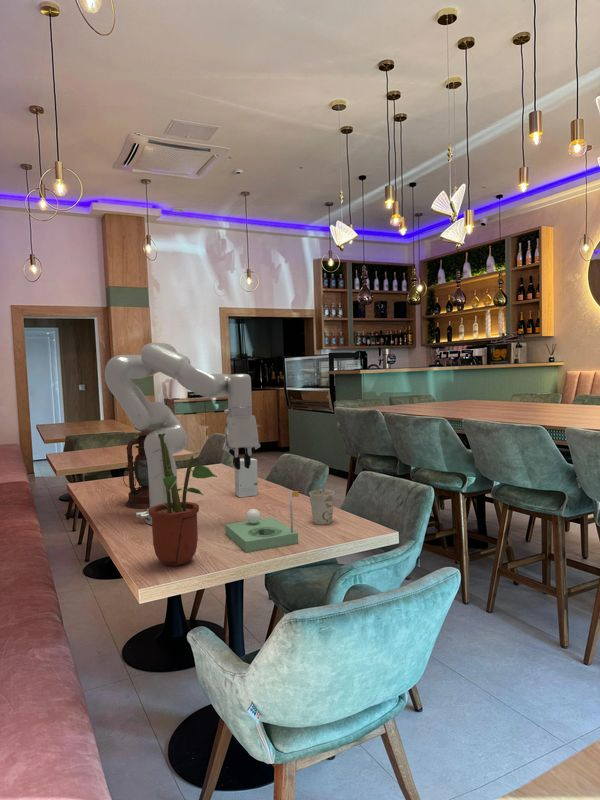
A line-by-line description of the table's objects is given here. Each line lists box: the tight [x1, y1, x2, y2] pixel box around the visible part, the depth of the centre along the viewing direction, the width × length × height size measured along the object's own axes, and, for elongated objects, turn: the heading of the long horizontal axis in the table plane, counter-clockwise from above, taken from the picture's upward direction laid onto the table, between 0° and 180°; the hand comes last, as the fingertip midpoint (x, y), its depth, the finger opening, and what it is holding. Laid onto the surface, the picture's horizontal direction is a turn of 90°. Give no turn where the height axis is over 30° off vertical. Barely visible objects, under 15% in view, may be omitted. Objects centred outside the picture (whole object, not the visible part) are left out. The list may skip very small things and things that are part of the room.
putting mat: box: [224, 490, 300, 553], centre depth 167 cm, size 17×20×15 cm
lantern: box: [122, 429, 155, 510], centre depth 215 cm, size 19×19×30 cm
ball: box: [245, 508, 262, 524], centre depth 172 cm, size 5×5×5 cm
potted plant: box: [149, 433, 218, 567], centre depth 150 cm, size 17×16×35 cm
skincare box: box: [234, 457, 259, 498], centre depth 224 cm, size 8×6×15 cm
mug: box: [308, 489, 336, 526], centre depth 184 cm, size 8×13×10 cm, turn 27°
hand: (242, 467), depth 180 cm, fingers open, 2 cm apart
